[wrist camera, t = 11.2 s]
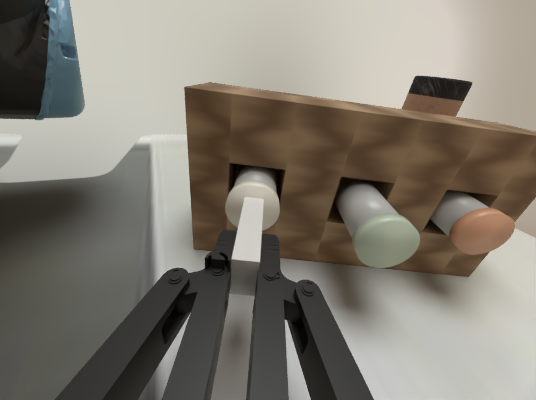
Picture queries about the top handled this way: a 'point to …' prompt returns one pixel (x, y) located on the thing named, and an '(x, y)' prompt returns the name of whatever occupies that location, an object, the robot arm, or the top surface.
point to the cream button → (254, 194)
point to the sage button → (375, 226)
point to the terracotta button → (471, 223)
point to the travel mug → (436, 95)
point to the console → (349, 168)
